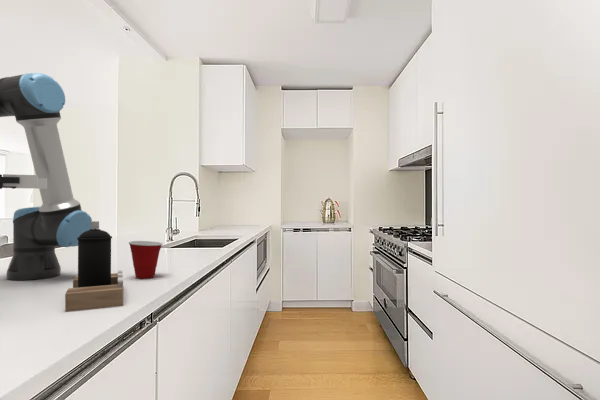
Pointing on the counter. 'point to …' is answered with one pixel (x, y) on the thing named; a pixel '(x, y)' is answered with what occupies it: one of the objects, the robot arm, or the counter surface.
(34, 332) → the counter surface
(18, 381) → the counter surface
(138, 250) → the plastic cup
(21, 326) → the counter surface
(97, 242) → the aerosol can
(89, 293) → the cutout stand
